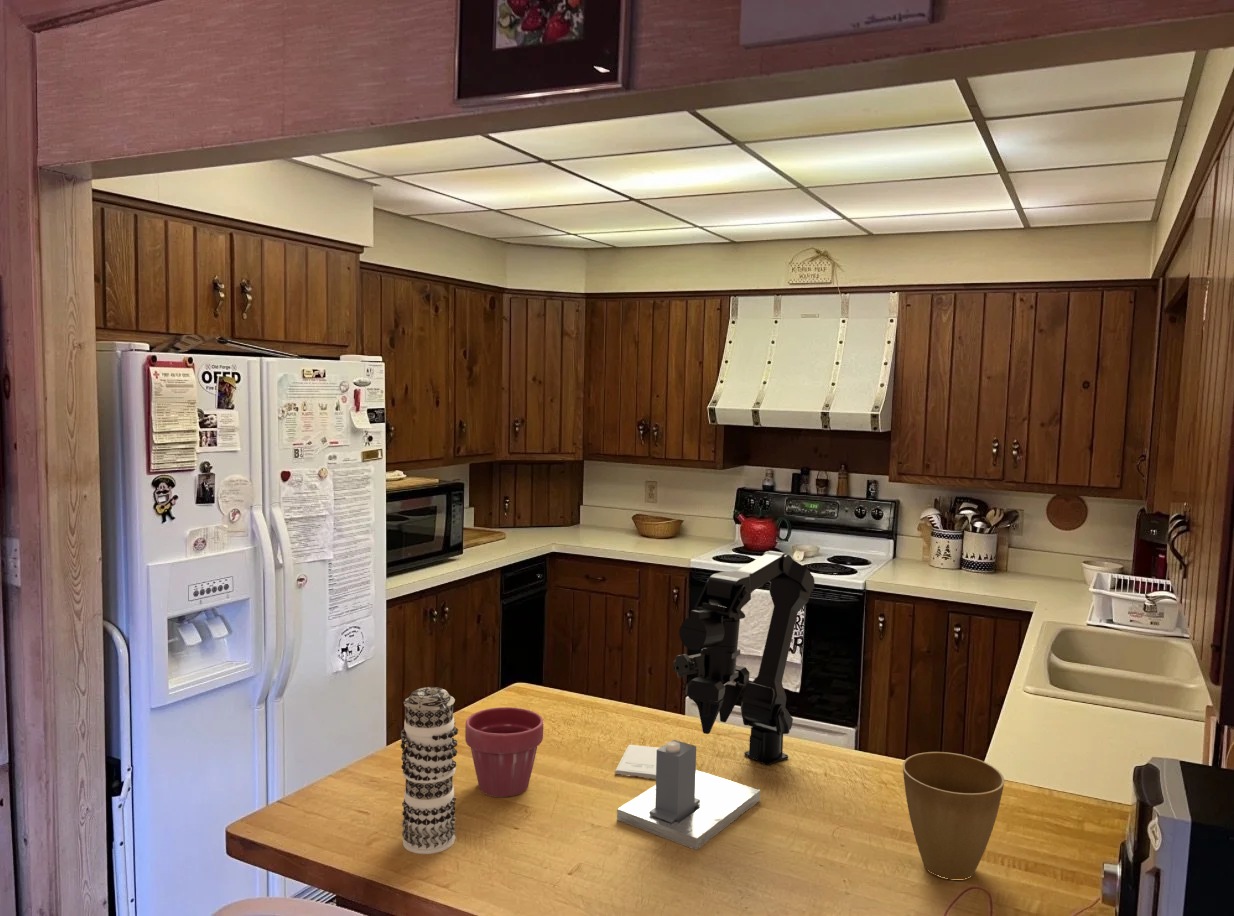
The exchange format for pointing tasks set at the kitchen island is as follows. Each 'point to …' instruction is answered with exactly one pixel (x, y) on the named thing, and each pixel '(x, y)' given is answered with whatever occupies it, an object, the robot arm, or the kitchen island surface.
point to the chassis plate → (709, 818)
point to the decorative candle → (429, 771)
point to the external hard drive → (638, 762)
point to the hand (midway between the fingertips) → (714, 727)
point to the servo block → (675, 782)
